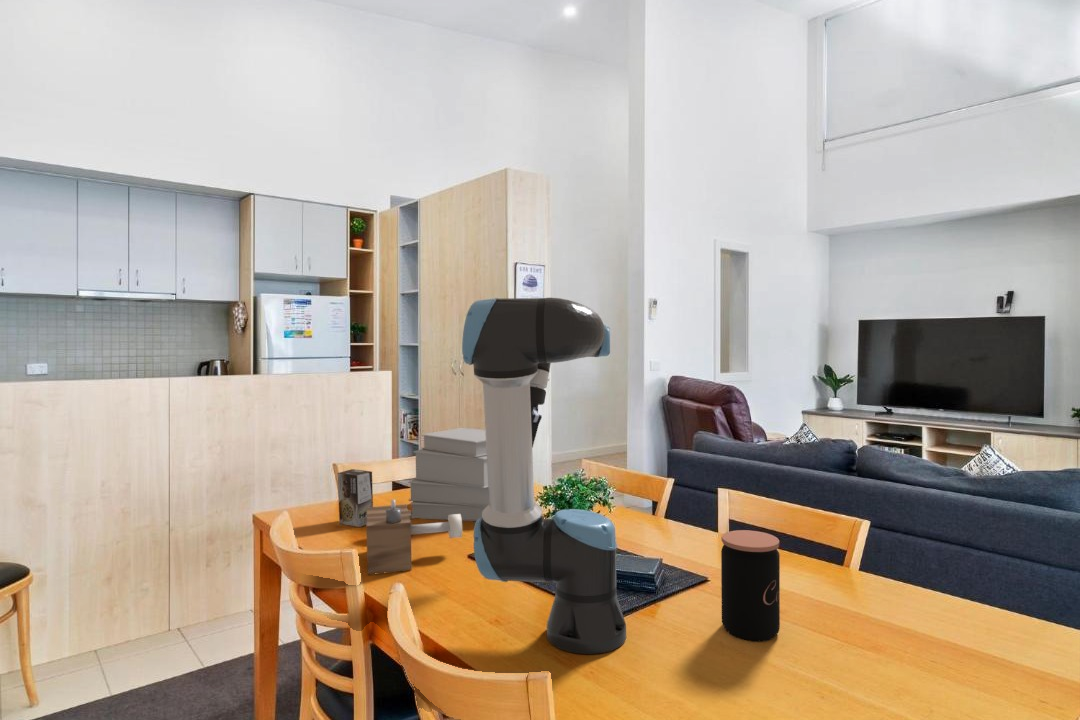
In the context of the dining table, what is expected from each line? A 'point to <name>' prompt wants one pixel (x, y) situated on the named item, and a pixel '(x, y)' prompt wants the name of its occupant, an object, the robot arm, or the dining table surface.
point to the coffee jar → (750, 585)
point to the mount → (388, 541)
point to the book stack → (451, 475)
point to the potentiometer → (393, 514)
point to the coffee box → (354, 496)
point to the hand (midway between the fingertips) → (516, 480)
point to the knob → (441, 527)
